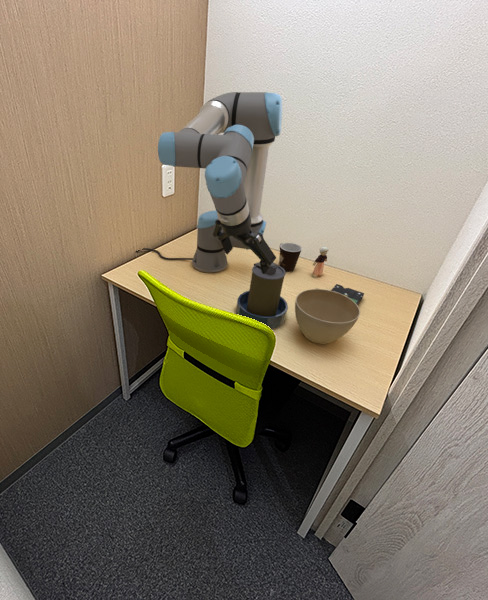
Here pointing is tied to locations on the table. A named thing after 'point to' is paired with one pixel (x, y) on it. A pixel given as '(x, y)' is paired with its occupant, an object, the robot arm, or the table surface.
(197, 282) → the table surface
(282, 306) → the bowl
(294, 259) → the coffee mug
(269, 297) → the canister
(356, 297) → the disk drive
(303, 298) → the tan rounded vessel
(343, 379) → the table surface
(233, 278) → the table surface
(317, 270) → the grandmother figurine
